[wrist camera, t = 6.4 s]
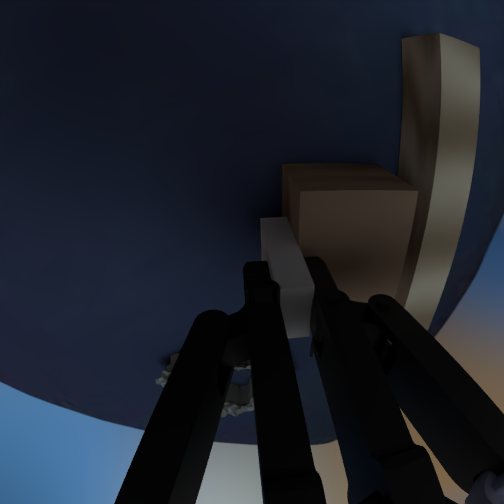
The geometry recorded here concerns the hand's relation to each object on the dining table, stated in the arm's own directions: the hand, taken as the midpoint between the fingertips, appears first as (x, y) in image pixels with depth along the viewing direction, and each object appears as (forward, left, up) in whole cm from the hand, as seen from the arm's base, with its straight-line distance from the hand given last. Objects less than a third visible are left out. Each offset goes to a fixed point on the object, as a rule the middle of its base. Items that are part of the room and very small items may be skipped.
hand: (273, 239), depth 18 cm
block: (0, +4, -2) cm, 4 cm away
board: (0, +10, -2) cm, 10 cm away
